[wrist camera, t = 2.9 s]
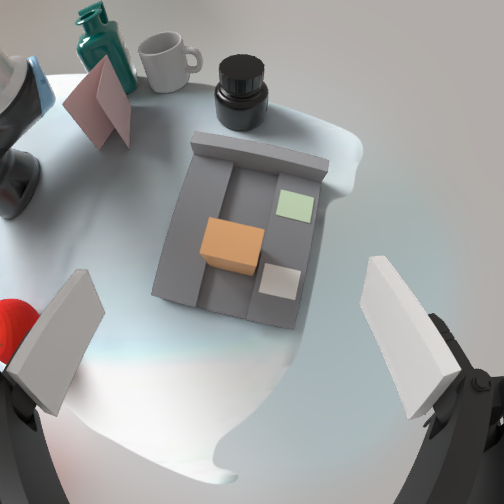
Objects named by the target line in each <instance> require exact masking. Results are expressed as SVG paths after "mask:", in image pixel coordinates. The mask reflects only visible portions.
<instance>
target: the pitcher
mask: <svg viewBox="0 0 504 504" xmlns="http://www.w3.org/2000/svg"><path fill="white" fill-rule="evenodd" d="M78 13H79V15H80V17H79V18H78V19H77V20H76V22H75V25H76V26H79V25H81V27H82V29H83V31H84V33H83V34H82V35H81V36H80V37H79V40H78V44H77V48H76V53H77V55H78V57H79V59H80V60H81V62H82V64H83V66H84V68H85V69H86V71H87V73H89V72H90V71H91V70H92V69H93V68H94V67H95V66H96V65H97V64H98V63H99V62H100V61H101V60H102V59H103V58H104V57H105V56H106V55H107V56H108V58H109V60H110V62H111V65H112V67H113V69H114V71H115V73H116V75H117V77H118V79H119V81H120V83H121V86H122V88H123V90H124V92H125V94H128V93H131V92H133V91H134V90H135V89H136V88H137V86H138V79H137V72H136V69H135V67H134V64H133V61H132V59H131V56H130V54H129V51H128V49H127V46H126V43H125V41H124V38H123V36H122V33H121V30H120V27H119V25H118V23H117V22H115V21H108V18H107V14H106V11H105V8H104V6H103V2H102V1H99V2H97V3H95V4H93V5H91V6H88V7H86V8H84V9H82V10H80V11H79V12H78Z"/></svg>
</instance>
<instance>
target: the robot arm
mask: <svg viewBox="0 0 504 504" xmlns="http://www.w3.org/2000/svg"><path fill="white" fill-rule="evenodd" d="M55 100H56V98H55V95H54V92H53V90H52V88H51V86H50V84H49V82H48V80H47V78H46V76H45V74H44V72H43V69H42V68H41V65H40V63H39V61H38V59H37V57H36V56H32V57H30V58H28V59H27V60H25V59H24V58H23V57H22V56H13V57H9V56H8V55H7V54H6V53H5V52H4V51H3V50H2V49H1V48H0V216H1V217H4V218H6V219H11V218H14V217H16V216H17V215H18V214H20V213H21V212H22V211H23V210H24V208H25V207H26V206H27V204H28V203H29V201H30V199H31V198H32V196H33V193H34V191H35V189H36V186H37V183H38V178H39V163H38V160H37V159H36V158H35V157H34V156H33V155H32V154H30V153H28V152H22V151H18V150H15V149H12V148H11V147H12V146H13V145H14V144H15V143H16V141H17V140H18V139H19V138H20V137H21V136H22V135H23V134H24V133H25V132H27V131H28V130H29V129H30V128H31V127H32V126H33V125H34V124H35V123H36V122H37V121H38V120H39V119H41V118H42V117H43V116H44V114H45V113H46V112H47V111H48V110H49V109H50V108H51V107H52V106H53V105H54V103H55ZM359 305H360V307H361V309H362V311H363V313H364V315H365V317H366V319H367V322H368V324H369V326H370V328H371V330H372V332H373V335H374V337H375V339H376V341H377V343H378V346H379V348H380V350H381V352H382V355H383V357H384V360H385V362H386V364H387V367H388V369H389V371H390V374H391V376H392V379H393V381H394V384H395V386H396V389H397V391H398V394H399V396H400V399H401V402H402V404H403V407H404V409H405V412H406V415H407V418H408V420H411V419H414V418H417V417H420V416H422V415H425V414H426V413H427V412H428V411H429V409H431V407H432V406H433V408H434V411H435V413H434V414H433V415H432V416H431V417H430V418H429V419H428V420H427V421H426V423H425V424H424V426H423V427H426V426H427V425H428V424H429V423H430V424H429V427H428V430H427V433H426V435H425V438H424V441H423V443H422V446H421V449H420V451H419V453H418V455H417V458H416V460H415V463H414V465H413V467H412V469H411V471H410V473H409V475H408V477H407V479H406V482H405V483H404V485H403V487H402V489H401V491H400V493H399V495H398V496H397V498H396V500H395V502H394V504H504V423H503V424H502V425H501V423H500V419H501V418H502V417H503V419H504V376H501V377H490V376H489V374H488V373H487V372H485V371H483V370H482V369H474V368H473V367H472V366H471V364H470V362H469V360H468V359H467V357H466V355H465V354H464V352H463V350H462V349H461V347H460V345H459V344H458V342H457V341H456V340H455V339H454V336H453V335H452V333H451V332H450V330H449V329H448V327H447V326H446V324H445V323H444V321H442V319H440V318H439V317H438V316H437V315H435V314H434V313H432V314H428V315H427V313H426V312H425V310H424V309H423V307H422V306H421V304H420V303H419V301H418V300H417V299H416V297H415V296H414V294H413V293H412V292H411V290H410V289H409V287H408V286H407V285H406V284H405V282H404V281H403V279H402V278H401V277H400V276H399V274H398V273H397V271H396V270H395V269H394V267H393V266H392V265H391V264H390V262H389V261H388V260H387V259H386V257H385V256H372V257H370V258H369V263H368V268H367V273H366V278H365V282H364V287H363V291H362V296H361V300H360V304H359ZM104 315H105V311H104V308H103V306H102V304H101V301H100V299H99V297H98V294H97V292H96V289H95V287H94V285H93V282H92V279H91V277H90V274H89V272H88V269H78V270H75V272H74V273H73V274H72V275H71V277H70V278H69V279H68V280H67V281H66V283H65V284H64V285H63V287H62V288H61V289H60V290H59V292H58V293H57V294H56V296H55V297H54V298H53V300H52V301H51V302H50V304H49V305H48V306H47V308H46V309H45V310H44V312H43V313H42V315H41V316H40V317H39V319H38V320H37V322H36V323H35V325H34V326H33V327H32V328H31V329H30V330H29V331H27V333H26V334H25V336H24V337H23V339H22V342H20V344H19V345H18V348H16V350H15V352H14V353H13V355H12V357H11V358H10V360H9V362H8V363H7V365H6V367H5V369H4V370H3V372H2V373H1V371H0V504H70V503H69V501H68V499H67V497H66V495H65V493H64V490H63V488H62V486H61V483H60V481H59V478H58V476H57V473H56V470H55V468H54V465H53V462H52V459H51V456H50V453H49V450H48V447H47V444H46V440H45V437H44V433H43V429H42V425H41V421H40V417H39V414H38V412H37V410H36V409H35V407H36V405H38V406H39V407H40V408H41V409H42V410H43V411H44V412H45V413H48V414H51V415H53V416H56V417H57V415H58V413H59V410H60V407H61V405H62V403H63V400H64V398H65V395H66V393H67V391H68V388H69V386H70V384H71V381H72V379H73V377H74V375H75V372H76V370H77V368H78V366H79V364H80V362H81V360H82V357H83V355H84V353H85V351H86V349H87V347H88V345H89V343H90V341H91V339H92V337H93V335H94V333H95V331H96V330H97V328H98V326H99V324H100V322H101V320H102V318H103V316H104Z"/></svg>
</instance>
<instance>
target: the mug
mask: <svg viewBox="0 0 504 504" xmlns="http://www.w3.org/2000/svg"><path fill="white" fill-rule="evenodd" d="M138 52H139V55H140V58H141V61H142V64H143V66H144V69H145V72H146V75H147V77H148V80H149V83H150V86H151V88H152V89H153V90H154V91H155V92H158V93H171V92H174V91H177V90H179V89H180V88H182V87H183V86H185V85H186V83H187V82H188V80H189V77H190V74H189V73H197V72H199V71H200V70H201V68H202V65H203V60H202V55H201V53H200V51H199V50H198V49H196V48H194V47H185V46H184V43H183V39H182V36H181V35H180V34H179V33H176V32H163V33H159V34H155V35H153V36H151V37H149V38H147V39H146V40H144V41H143V42H142V43H141V45H140V46H139V48H138ZM186 54H192V55H194V56H195V57H196V59H197V66H188V64H187V59H186Z"/></svg>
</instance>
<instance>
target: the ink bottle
mask: <svg viewBox="0 0 504 504" xmlns="http://www.w3.org/2000/svg"><path fill="white" fill-rule="evenodd" d="M219 77H220V82H219V83H218V84H217V86H216V88H215V92H214V95H215V104H216V113H217V118H218V120H219V121H220V122H221V123H222V124H223V125H224V126H226V127H228V128H230V129H233V130H239V131H244V130H250V129H253V128H255V127H256V126H258V125H259V124H260V123H261V122H262V121H263V120H264V118H265V115H266V111H267V104H268V88H267V85H266V84H265V83H264V82H263V78H264V64H263V62H262V61H261V60H260V59H258V58H256V57H255V56H251V55H247V54H237V55H233V56H229V57H227V58H226V59H224V60H223V61H222V62H221V63H220V66H219Z"/></svg>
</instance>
